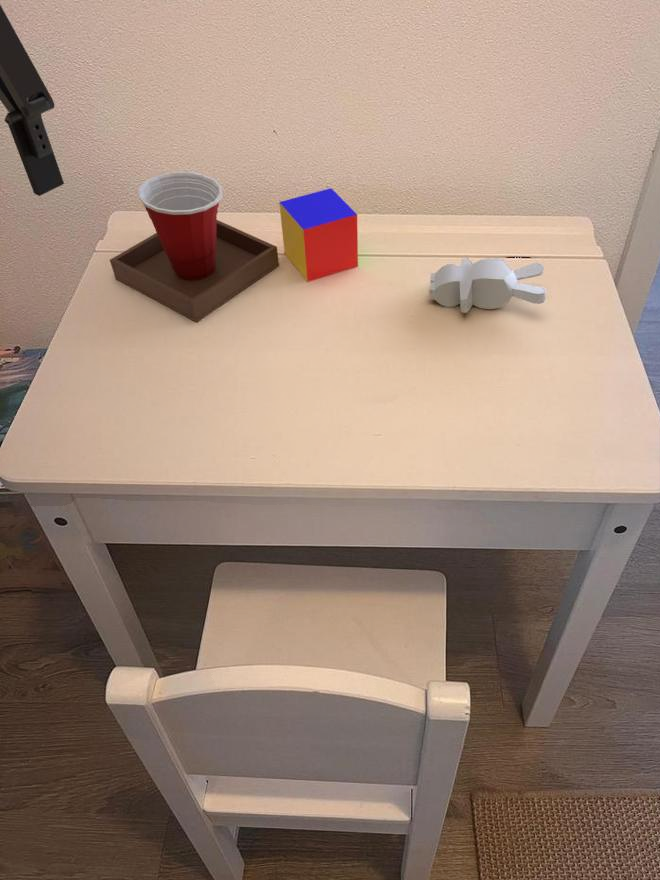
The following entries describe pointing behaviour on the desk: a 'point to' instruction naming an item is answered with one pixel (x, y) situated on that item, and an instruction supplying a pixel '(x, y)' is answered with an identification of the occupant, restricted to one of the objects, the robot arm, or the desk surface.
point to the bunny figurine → (484, 284)
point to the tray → (234, 272)
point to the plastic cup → (184, 219)
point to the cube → (319, 234)
